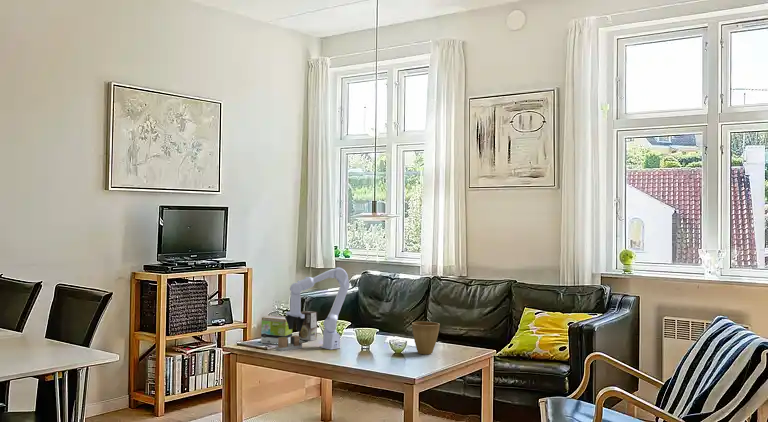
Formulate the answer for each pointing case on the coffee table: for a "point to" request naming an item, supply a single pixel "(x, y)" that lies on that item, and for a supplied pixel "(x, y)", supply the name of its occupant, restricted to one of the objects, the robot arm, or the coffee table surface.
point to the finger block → (294, 340)
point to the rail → (290, 346)
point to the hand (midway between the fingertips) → (294, 330)
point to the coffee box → (309, 326)
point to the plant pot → (425, 336)
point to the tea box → (274, 329)
